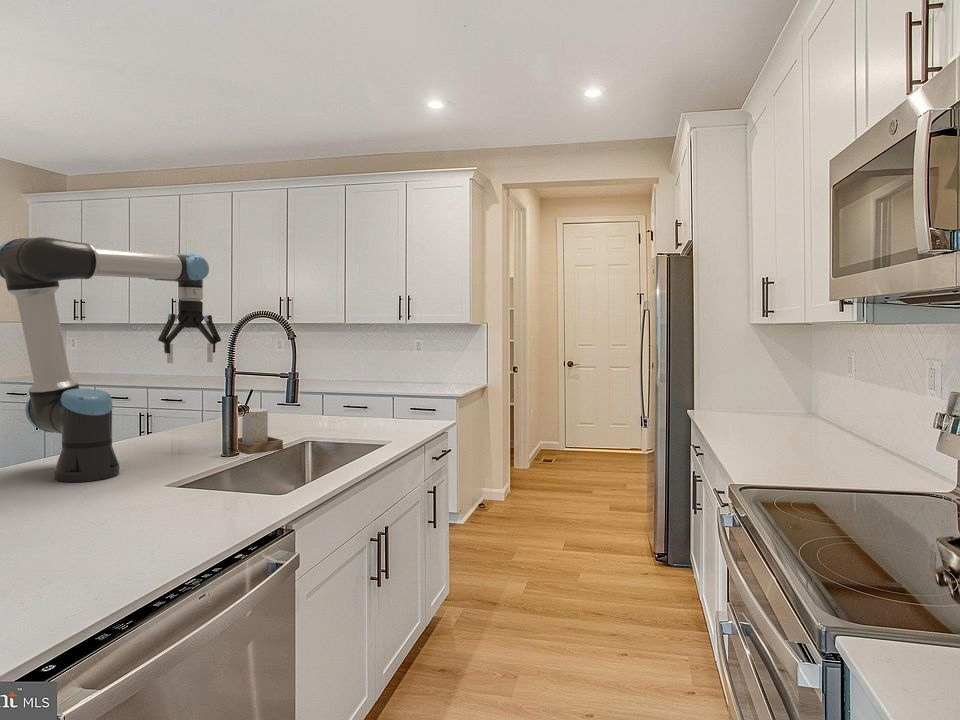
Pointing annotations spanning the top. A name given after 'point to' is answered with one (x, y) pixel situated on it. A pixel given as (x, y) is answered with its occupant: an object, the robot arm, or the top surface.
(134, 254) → the robot arm
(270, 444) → the wooden tray
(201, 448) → the top surface
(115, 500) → the top surface
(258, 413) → the light grey upright block
